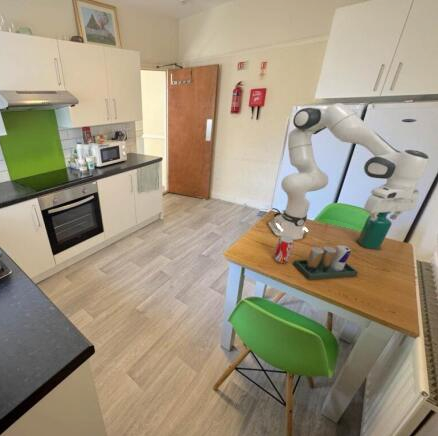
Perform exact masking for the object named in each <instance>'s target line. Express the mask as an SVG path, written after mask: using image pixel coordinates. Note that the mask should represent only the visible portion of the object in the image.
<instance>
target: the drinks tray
mask: <svg viewBox="0 0 438 436" xmlns="http://www.w3.org/2000/svg"><path fill="white" fill-rule="evenodd" d="M307 259H308V258H307ZM307 259H306V258H305V259H296V260H294V261H293V266H294V267H295V268H296V269H298V271H299V272H300V273H301V274H302V275H303V276H304V277H305V278H306V279H307V280H308V281H311V280H324V279H335V278H347V277H348V278H349V277H356V276H358V273H359V271H357V270H356V269H355V268H354V267H352V265H350V264H349V263H347V262H346V264H345V266H344V268H343V270H342V271H335V270H333V269H331V268H329V270H328V272H326V273H325V272H320V271H318V270H317V272H316V273H309V272H308V271H307V270H306V269H305V265H306V262H307Z"/></svg>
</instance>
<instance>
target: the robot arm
mask: <svg viewBox="0 0 438 436" xmlns="http://www.w3.org/2000/svg"><path fill="white" fill-rule="evenodd" d="M292 122H293V123H292V124H293V125H294V127H295V128H293V129H292V130H291V131H290V132H289V134H288V139H287V148H288V157H289V163H290V165H291V166H293V167H294V168H295V169H296V170H297V173H296V172H295V173H291V174H288V175H285V176H284V177H283V178H282V180H281V184H280V185H281V189H282V190H283V192H284V193H285V194H286V197H287V202H286V207H285V209H284V210H283V209H282V211H280V210H279V209H278V208H276V207H275V208H274V207H273V208H271V210H272V211H273V210H275V211H277V213H274V214H273V216H274V218H273V219H272V221H269V222H268V223H267V225H268V227H269V228H270V230H271V231H272V232H273V234H274V235H275V236H279V237H281V236H288V237H291V238H292V239H293V240H294V241H295V240H297V241H298V240H301V239H303V238H304V235H305V234H306V232H309V230H308V228H307V227H306V223H307V222H306V221H307V219H308V212H309V208H310V207H311V203H310V201H309V199H307V198H306V194H307V193H309V192H316V191H319V190H323V189H324V188H326V187H327V186H328V184H329V176H328V175H327V173H326V172H324V171H322V170H321V169H320V167H319V165H318V164H317V162H316V159H315V156H314V155H315V154H314V150H313V142H312V136H313V135H317V134H319V133H321V131H323V130H326V129H328V130H329V132H330V133H331V135H332V136H333V137H334V138H336V139H337V140H339V141H340V142H343V143H349V144H355V145H359V146H362V147H364V148H365V149H366V150H368V152H370V153H371V154H372V155H373V157H371V158H368V160H367V161H366V162H365V163H364V166H363V171H364V173H365V175H366V176H368V177H370V178H373V179H381V180H382V179H384V180H386V182H385V183H383V184H381V185H379V186H377V187H374V188H372V189H371V191H370V193H371V194H370V195H369V196H368V197H367V199H366V202H365V204H364V207H363V210H364V211H365V212H367V213H369V214H370V215H371V218H370V220H372V221H377V219H378V217H377V214H378V213H380V212H391V213H393V214H390V216H389V220H393V221H394V220H397V219H398V218H399V216H401V215H402V214H403V213H404V212H410V211H413V209H415V207H416V206H417V203H418V201H419V195H420V192H419V190H418V189H416V188H417V185H418V182H419V180H420V179H421V178H422V177H423V175H424V173H425V171H426V168H427V167H428V164H429V159H430V158H429V155H427V153H424V152H422V151H418V150H413V149H405V150H402V151H400V150H398V149H395V148H394V147H393V146H392V145H390V144H389V143H388V142H387V141H386V140H385V139H384V138H383V137H381V136H380V135H379V134H378V133H377V132H375V131H374V130H373V129H372V128H371V127H370V126H369V125H367V124H366V123H365V122H364V121H363V119H362V118H361V117H359V115H358V114H356V112H354V110H352V109H351V108H350V107H349V106H347V105H346V104H344V103H341V102H338V103H337V102H336V103H334V104H331V105H330V106H328V107H327V108H326V109H323V108H319V107H304V108H302V109H300V110H298V111H297V112H296V113H295V114H294V116H293V120H292ZM281 213H282V214H281Z"/></svg>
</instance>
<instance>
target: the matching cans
mask: <svg viewBox="0 0 438 436" xmlns="http://www.w3.org/2000/svg"><path fill="white" fill-rule="evenodd" d="M335 253H336V248H334V247H333V246H328V245H326V246H323V247H322V248H320V247H318V246H312V247H311V249H310V251H309V254H308V257H307V262H306V265H305V269H306V270H307V271H308V272H309V273H316V272H317V270H318V271H320V272H325V273H326V272H328V270H329V268H330V265H331V263H332V261H333V258H334V256H335Z"/></svg>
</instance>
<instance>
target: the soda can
mask: <svg viewBox="0 0 438 436" xmlns="http://www.w3.org/2000/svg"><path fill="white" fill-rule="evenodd" d="M294 245H295V240H293V239H292V238H291V237H288V236H279V238H278V240H277V243H276V247H275V251H274V254H273V259H274V261H276V262H278V263H280V264H287V263H288V262H289V261H290V258H291V255H292V253H293V252H292V251H293V249H294Z"/></svg>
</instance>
